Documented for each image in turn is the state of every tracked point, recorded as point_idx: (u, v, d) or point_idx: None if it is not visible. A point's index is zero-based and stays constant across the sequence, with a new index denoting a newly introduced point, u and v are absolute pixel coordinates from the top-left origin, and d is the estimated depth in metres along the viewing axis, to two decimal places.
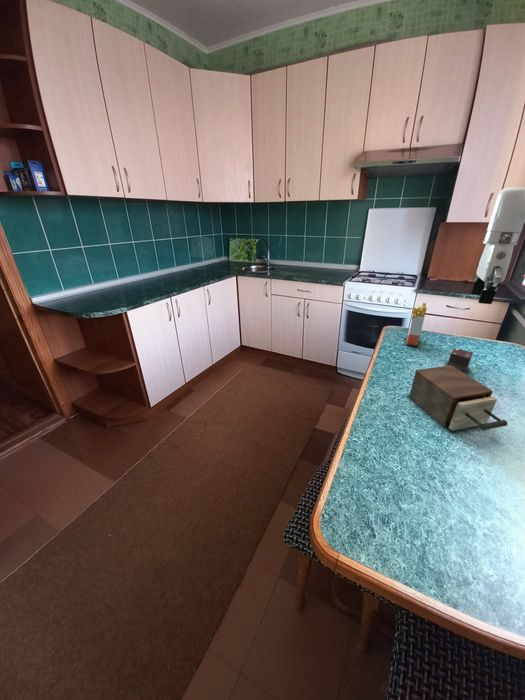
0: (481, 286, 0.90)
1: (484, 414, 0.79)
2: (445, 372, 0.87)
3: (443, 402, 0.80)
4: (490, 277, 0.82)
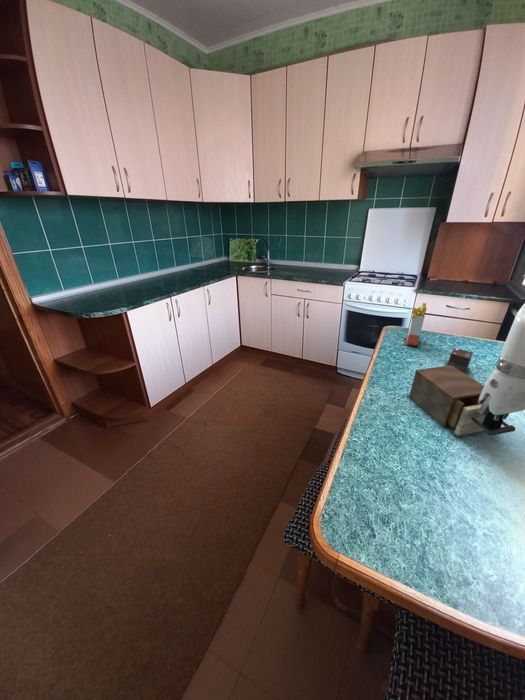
0: None
1: None
2: (445, 372, 0.87)
3: (443, 402, 0.80)
4: None
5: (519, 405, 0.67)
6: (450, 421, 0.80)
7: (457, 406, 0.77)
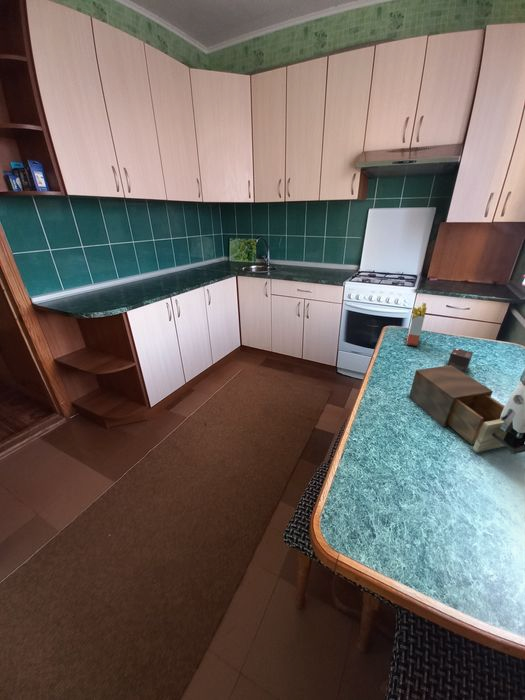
0: None
1: None
2: (445, 372, 0.87)
3: (443, 402, 0.80)
4: None
5: None
6: (468, 436, 0.75)
7: (476, 420, 0.72)
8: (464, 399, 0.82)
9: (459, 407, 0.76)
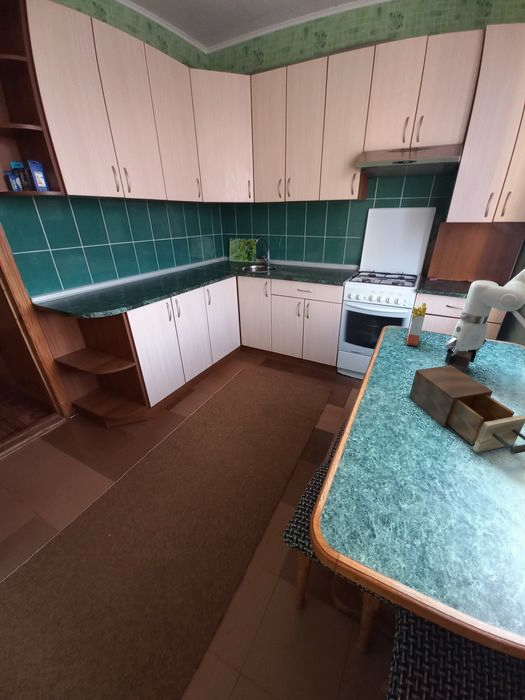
0: None
1: (512, 434, 0.72)
2: (445, 372, 0.87)
3: (443, 402, 0.80)
4: None
5: (476, 344, 1.01)
6: (468, 436, 0.75)
7: (476, 420, 0.72)
8: (464, 399, 0.82)
9: (459, 407, 0.76)
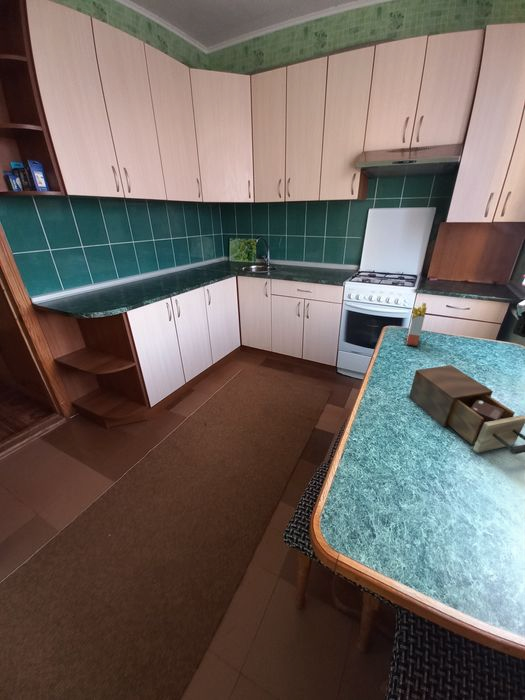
0: None
1: (512, 434, 0.72)
2: (445, 372, 0.87)
3: (443, 402, 0.80)
4: None
5: None
6: (468, 436, 0.75)
7: (477, 420, 0.72)
8: (464, 399, 0.82)
9: (459, 407, 0.76)
